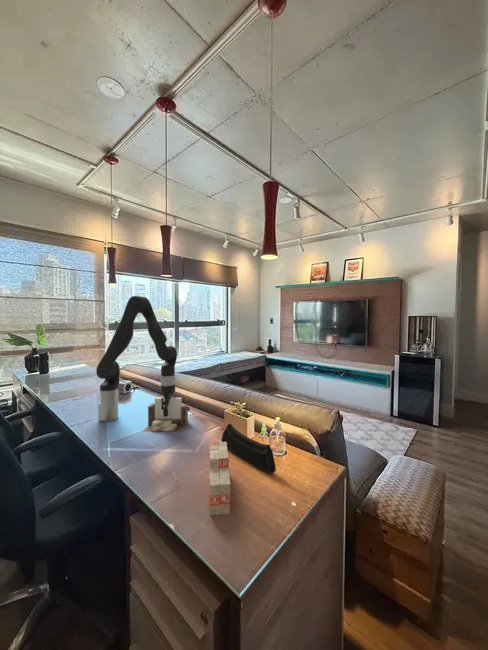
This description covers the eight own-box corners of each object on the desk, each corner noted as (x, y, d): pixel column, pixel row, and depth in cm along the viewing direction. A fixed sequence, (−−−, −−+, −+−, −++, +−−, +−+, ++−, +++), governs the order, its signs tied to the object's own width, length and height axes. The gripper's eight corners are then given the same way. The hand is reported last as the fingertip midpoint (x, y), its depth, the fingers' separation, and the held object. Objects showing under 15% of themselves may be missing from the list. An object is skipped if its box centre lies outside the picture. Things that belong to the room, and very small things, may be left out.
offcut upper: (152, 426, 136) (151, 422, 136) (154, 423, 140) (154, 419, 140) (169, 426, 136) (169, 422, 136) (171, 424, 139) (171, 420, 139)
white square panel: (154, 424, 144) (154, 398, 144) (156, 422, 146) (156, 397, 146) (180, 424, 143) (180, 398, 143) (181, 423, 145) (181, 397, 145)
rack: (142, 433, 135) (142, 411, 135) (152, 422, 149) (152, 402, 149) (181, 433, 134) (181, 412, 134) (188, 422, 148) (188, 403, 148)
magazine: (281, 452, 98) (232, 408, 120) (275, 455, 96) (226, 410, 117) (271, 490, 102) (225, 441, 124) (265, 493, 100) (220, 443, 122)
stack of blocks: (230, 514, 80) (230, 473, 79) (209, 516, 79) (209, 475, 78) (226, 473, 101) (226, 440, 100) (209, 474, 100) (209, 441, 100)
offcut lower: (150, 430, 136) (150, 426, 136) (153, 427, 140) (153, 423, 140) (174, 430, 135) (174, 427, 135) (176, 427, 139) (176, 423, 139)
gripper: (165, 380, 151) (165, 408, 152) (156, 386, 137) (156, 418, 138) (178, 380, 151) (178, 409, 151) (170, 387, 137) (171, 418, 137)
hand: (168, 413), depth 144 cm, fingers open, 8 cm apart
